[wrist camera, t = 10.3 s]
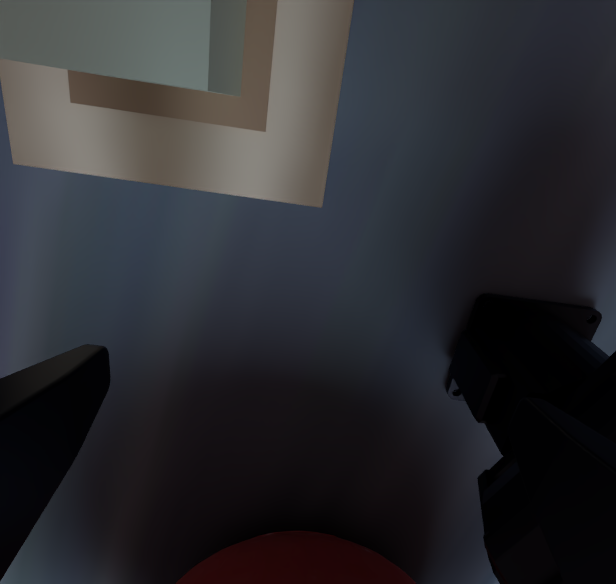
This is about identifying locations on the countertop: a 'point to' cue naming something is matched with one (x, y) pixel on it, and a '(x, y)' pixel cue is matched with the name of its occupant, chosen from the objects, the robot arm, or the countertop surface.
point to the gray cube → (131, 39)
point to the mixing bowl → (296, 562)
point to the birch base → (198, 113)
